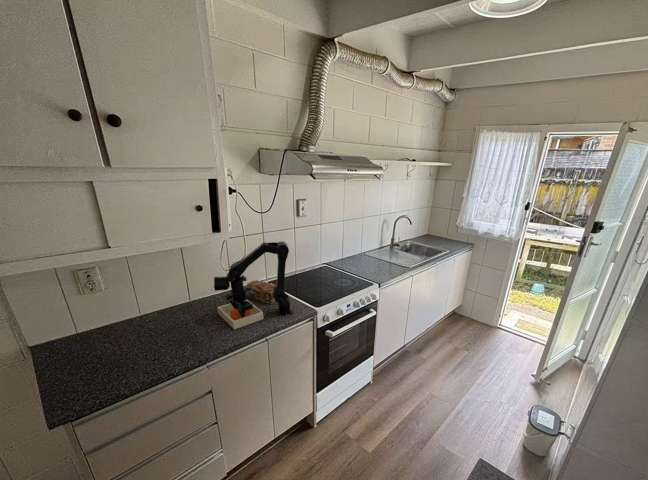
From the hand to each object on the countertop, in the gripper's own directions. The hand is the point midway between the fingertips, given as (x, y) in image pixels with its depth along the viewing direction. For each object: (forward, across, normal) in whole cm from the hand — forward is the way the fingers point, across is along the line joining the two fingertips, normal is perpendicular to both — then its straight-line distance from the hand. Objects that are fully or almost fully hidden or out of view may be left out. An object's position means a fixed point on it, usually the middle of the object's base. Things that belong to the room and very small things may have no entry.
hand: (240, 315), depth 156 cm
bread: (+1, +12, -20) cm, 23 cm away
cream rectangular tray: (+1, 0, 0) cm, 1 cm away
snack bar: (0, 0, 0) cm, 0 cm away
